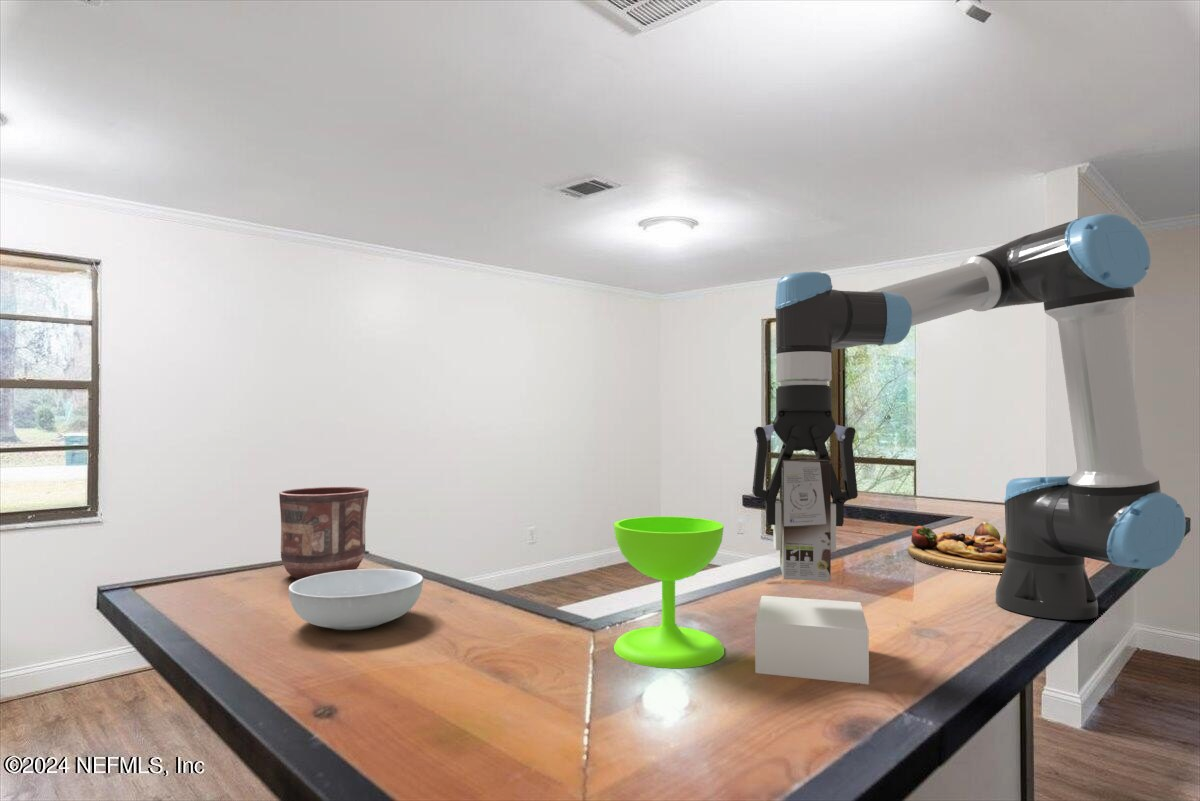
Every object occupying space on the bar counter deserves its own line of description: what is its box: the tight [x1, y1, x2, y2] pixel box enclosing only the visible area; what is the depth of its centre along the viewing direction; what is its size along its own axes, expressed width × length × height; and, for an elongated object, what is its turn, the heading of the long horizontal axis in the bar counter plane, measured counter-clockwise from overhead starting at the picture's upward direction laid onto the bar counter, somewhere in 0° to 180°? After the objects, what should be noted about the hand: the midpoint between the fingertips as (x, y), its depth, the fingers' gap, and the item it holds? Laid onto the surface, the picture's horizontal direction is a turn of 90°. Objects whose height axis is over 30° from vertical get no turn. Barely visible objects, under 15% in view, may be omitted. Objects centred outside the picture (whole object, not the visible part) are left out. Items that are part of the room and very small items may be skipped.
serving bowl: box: [288, 568, 424, 631], centre depth 115 cm, size 21×21×7 cm
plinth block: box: [754, 595, 870, 685], centre depth 97 cm, size 14×14×7 cm
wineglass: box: [613, 515, 725, 669], centre depth 102 cm, size 16×16×18 cm
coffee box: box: [778, 456, 832, 583], centre depth 98 cm, size 9×6×16 cm
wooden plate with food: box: [907, 521, 1006, 573], centre depth 164 cm, size 32×32×8 cm
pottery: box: [278, 486, 370, 581], centre depth 150 cm, size 18×18×18 cm
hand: (804, 548), depth 98 cm, fingers closed on coffee box, 7 cm apart
